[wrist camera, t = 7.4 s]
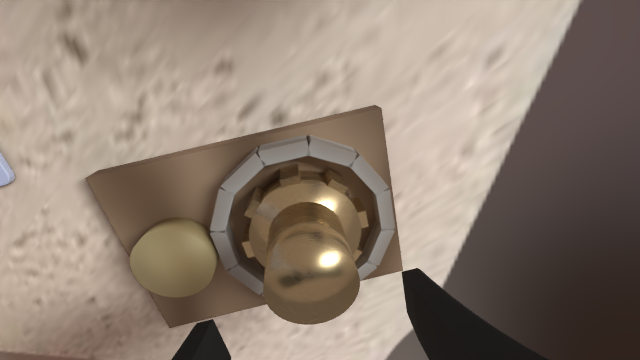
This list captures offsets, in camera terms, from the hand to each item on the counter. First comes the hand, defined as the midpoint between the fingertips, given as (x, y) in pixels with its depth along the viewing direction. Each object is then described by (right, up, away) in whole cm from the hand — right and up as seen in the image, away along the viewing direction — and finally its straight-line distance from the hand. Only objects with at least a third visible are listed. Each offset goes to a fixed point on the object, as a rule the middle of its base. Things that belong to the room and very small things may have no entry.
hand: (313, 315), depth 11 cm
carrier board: (-3, +3, +8) cm, 9 cm away
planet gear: (-1, +3, +7) cm, 7 cm away
